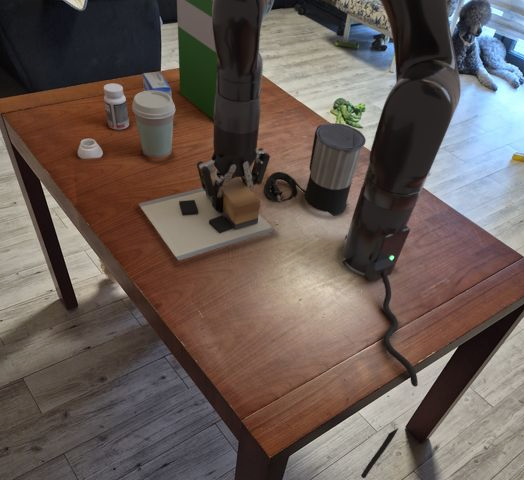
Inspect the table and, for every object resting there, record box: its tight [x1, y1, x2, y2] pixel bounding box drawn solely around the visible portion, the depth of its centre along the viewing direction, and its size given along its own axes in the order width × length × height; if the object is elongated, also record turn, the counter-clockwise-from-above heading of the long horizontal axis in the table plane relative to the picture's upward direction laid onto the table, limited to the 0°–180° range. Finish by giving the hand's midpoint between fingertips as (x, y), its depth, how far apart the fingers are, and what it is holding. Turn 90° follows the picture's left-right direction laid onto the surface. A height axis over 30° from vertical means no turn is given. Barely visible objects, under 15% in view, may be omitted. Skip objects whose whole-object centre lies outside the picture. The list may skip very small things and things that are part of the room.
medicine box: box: [142, 72, 173, 99], centre depth 109 cm, size 8×4×9 cm, turn 25°
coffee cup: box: [131, 90, 176, 159], centre depth 98 cm, size 8×8×12 cm
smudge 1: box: [179, 200, 198, 216], centre depth 90 cm, size 4×3×1 cm
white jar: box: [77, 138, 104, 160], centre depth 98 cm, size 5×3×5 cm
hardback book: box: [176, 0, 218, 121], centre depth 110 cm, size 18×7×24 cm, turn 37°
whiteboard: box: [138, 187, 276, 262], centre depth 89 cm, size 18×20×1 cm
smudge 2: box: [209, 215, 233, 233], centre depth 87 cm, size 4×3×1 cm
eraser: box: [206, 169, 261, 230], centre depth 89 cm, size 12×5×5 cm, turn 31°
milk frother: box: [263, 122, 367, 217], centre depth 92 cm, size 14×16×15 cm
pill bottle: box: [103, 82, 130, 131], centre depth 105 cm, size 5×5×8 cm
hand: (231, 206), depth 91 cm, fingers closed on eraser, 5 cm apart
